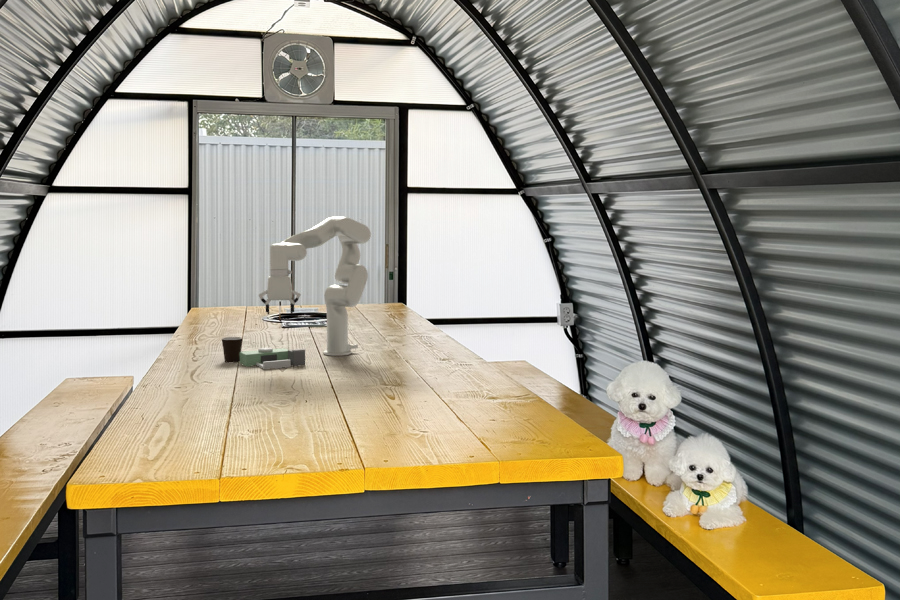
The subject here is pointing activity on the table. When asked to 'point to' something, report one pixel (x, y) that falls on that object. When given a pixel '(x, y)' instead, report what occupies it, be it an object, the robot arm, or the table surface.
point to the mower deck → (266, 358)
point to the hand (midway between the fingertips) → (280, 313)
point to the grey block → (296, 357)
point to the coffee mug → (232, 348)
